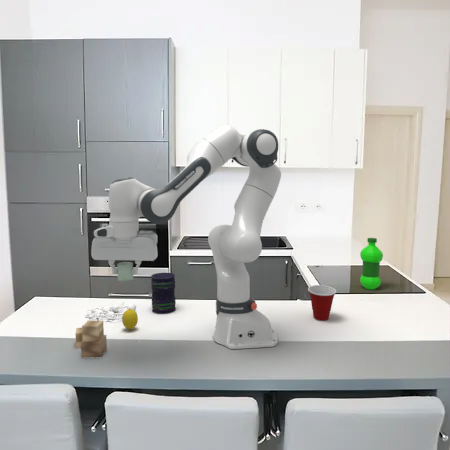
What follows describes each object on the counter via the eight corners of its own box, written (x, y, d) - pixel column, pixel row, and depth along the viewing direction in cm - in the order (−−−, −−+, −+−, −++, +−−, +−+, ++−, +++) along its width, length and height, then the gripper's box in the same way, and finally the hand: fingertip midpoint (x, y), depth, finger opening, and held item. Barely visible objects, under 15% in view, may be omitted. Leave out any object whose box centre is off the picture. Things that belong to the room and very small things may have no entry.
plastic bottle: (355, 288, 203) (357, 238, 200) (365, 284, 211) (367, 236, 207) (374, 292, 196) (376, 240, 193) (384, 288, 203) (387, 238, 200)
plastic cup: (310, 323, 156) (311, 292, 154) (304, 313, 167) (305, 285, 165) (339, 323, 156) (340, 292, 155) (330, 313, 167) (331, 284, 165)
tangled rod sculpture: (78, 324, 159) (77, 314, 158) (93, 309, 173) (92, 300, 172) (127, 324, 157) (126, 314, 156) (138, 309, 171) (137, 300, 170)
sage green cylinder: (135, 277, 131) (134, 262, 130) (130, 281, 126) (130, 265, 126) (120, 277, 131) (119, 261, 131) (115, 280, 126) (115, 265, 126)
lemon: (131, 325, 154) (131, 305, 153) (141, 329, 150) (140, 308, 149) (119, 330, 150) (118, 309, 149) (128, 334, 146) (128, 312, 145)
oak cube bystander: (92, 340, 141) (91, 326, 140) (92, 346, 136) (91, 331, 136) (76, 342, 139) (76, 328, 139) (76, 348, 135) (75, 333, 134)
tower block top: (103, 335, 132) (103, 320, 132) (98, 341, 127) (97, 326, 127) (88, 335, 133) (87, 320, 132) (82, 341, 128) (81, 326, 127)
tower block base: (106, 349, 133) (106, 335, 133) (100, 357, 127) (99, 342, 127) (88, 349, 134) (88, 334, 133) (81, 357, 128) (80, 342, 127)
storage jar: (173, 305, 178) (172, 271, 176) (177, 312, 168) (177, 277, 167) (150, 307, 175) (149, 273, 173) (153, 315, 165) (152, 279, 163)
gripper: (159, 229, 129) (160, 272, 131) (96, 228, 130) (97, 271, 132) (155, 232, 123) (155, 277, 125) (88, 231, 124) (90, 275, 126)
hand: (125, 273), depth 129 cm, fingers closed on sage green cylinder, 5 cm apart
